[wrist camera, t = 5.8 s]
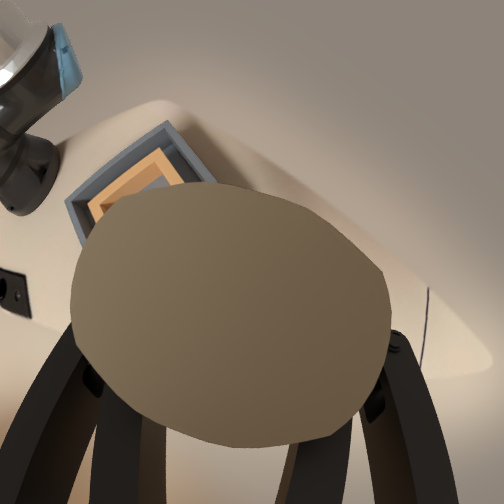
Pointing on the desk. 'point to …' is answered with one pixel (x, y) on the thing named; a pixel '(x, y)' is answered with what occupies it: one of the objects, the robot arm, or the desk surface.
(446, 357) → the desk surface
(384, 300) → the handle
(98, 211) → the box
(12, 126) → the robot arm
